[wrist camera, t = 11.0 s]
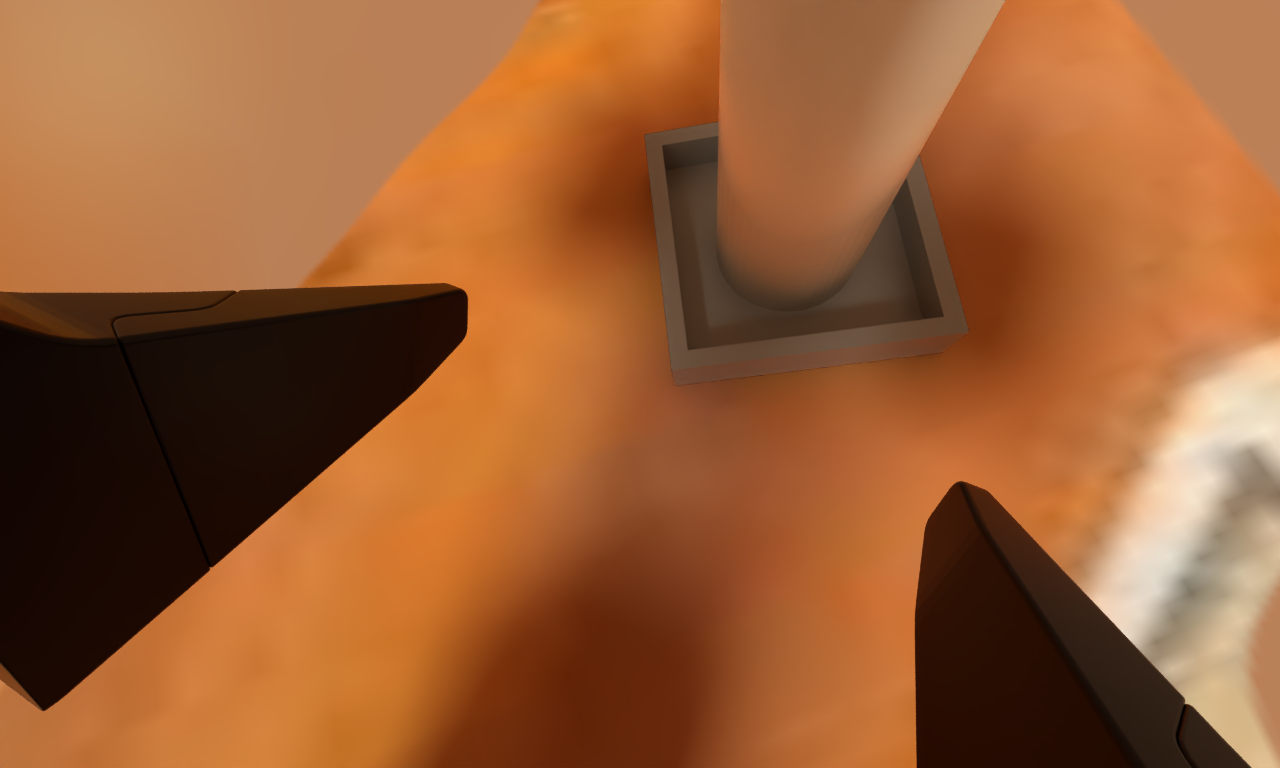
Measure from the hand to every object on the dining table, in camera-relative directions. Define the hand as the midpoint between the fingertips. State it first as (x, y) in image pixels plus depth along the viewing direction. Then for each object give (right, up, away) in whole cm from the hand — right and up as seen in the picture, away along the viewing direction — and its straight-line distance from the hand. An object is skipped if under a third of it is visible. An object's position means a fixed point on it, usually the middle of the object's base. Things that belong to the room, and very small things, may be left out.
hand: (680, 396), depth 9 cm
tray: (+5, +5, +11) cm, 13 cm away
